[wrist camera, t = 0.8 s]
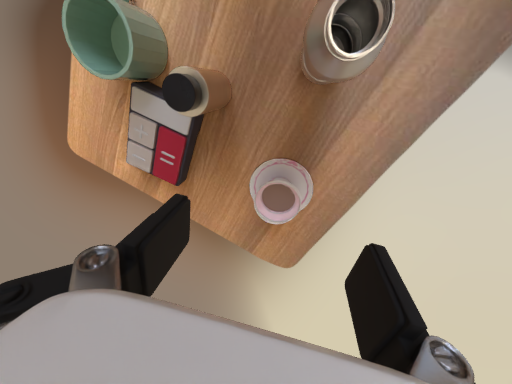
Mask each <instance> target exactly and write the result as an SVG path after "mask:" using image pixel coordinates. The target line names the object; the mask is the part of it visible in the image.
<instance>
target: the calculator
mask: <svg viewBox="0 0 512 384" xmlns="http://www.w3.org/2000/svg"><path fill="white" fill-rule="evenodd" d="M203 116H204V114H201V115H198V116H195V117H187V116H183V115H181V114H179V113H178V112H177V111H175V110H173V109H172V108H171V107H169V106H168V104H167V103H166V101H165V100H164V97H163V94H162V88H160V87H158V86H156V85H154V84H152V83H150V82H147V81H145V82H133V83H132V84H131V96H130V112H129V127H128V143H127V158H126V161H127V163H128V164H130V165H133V166H135V167H137V168H139V169H141V170H143V171H145V172H148V173H150V174H152V175H154V176H156V177H158V178H161V179H163V180H165V181H167V182H169V183H171V184H173V185H176V186H179V185H180V184H181V183H182V182H184V181H185V180H186V177H187V173H188V169H189V165H190V161H191V158H192V154H193V150H194V146H195V142H196V138H197V135H198V132H199V130H200V127H201V123H202V120H203Z"/></svg>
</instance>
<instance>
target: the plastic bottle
mask: <svg viewBox="0 0 512 384" xmlns="http://www.w3.org/2000/svg"><path fill="white" fill-rule="evenodd" d="M394 13H395V0H319V1H318V2H317V4H316V5H315V7H314V8H313V10H312V12H311V14H310V16H309V18H308V20H307V23H306V26H305V31H304V37H303V48H302V52H301V67H302V70H303V73H304V74H305V76H306V77H307V78H308V79H309V80H310V81H311V82H313V83H316V84H321V85H323V84H329V83H332V82H334V83H338V82H345V81H348V80H351V79H353V78H355V77H357V76H359V75H360V74H361V73H363V72H364V71H365V70H366V69H367V68H368V67H369V66H370V65H371V64H372V63H373V62H374V60H375V59H376V58H377V56H378V55H379V53H380V51H381V49H382V47H383V45H384V42H385V39H386V36H387V33H388V31H389V29H390V27H391V25H392V22H393V18H394Z"/></svg>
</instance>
